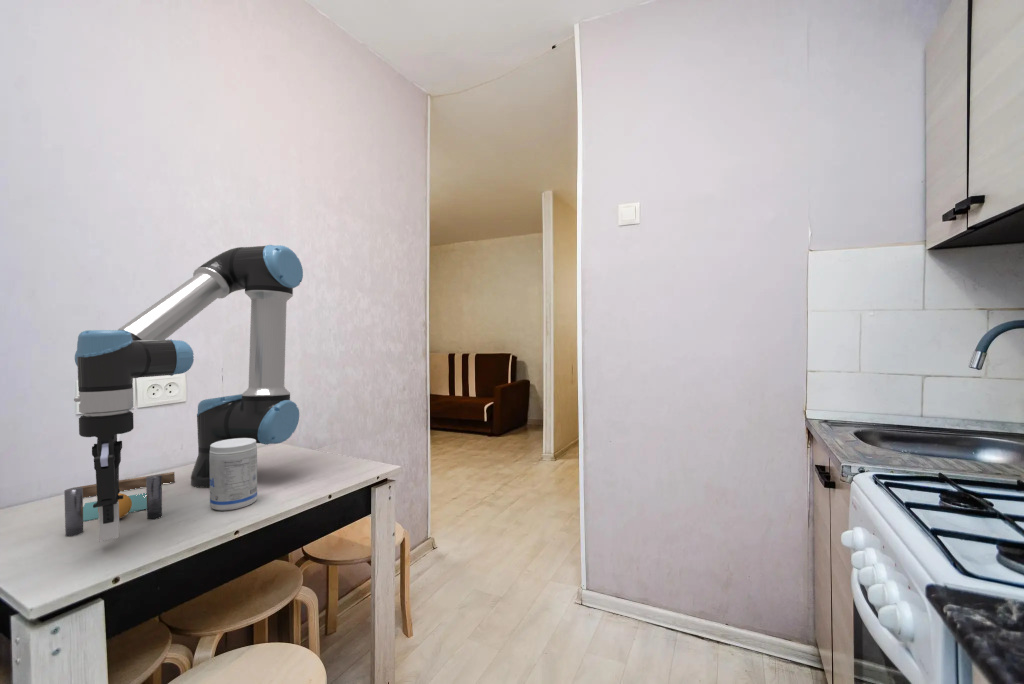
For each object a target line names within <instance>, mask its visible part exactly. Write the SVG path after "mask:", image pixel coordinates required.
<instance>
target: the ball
mask: <svg viewBox="0 0 1024 684" xmlns="http://www.w3.org/2000/svg"><path fill="white" fill-rule="evenodd" d="M118 495H123V499H119V500H118V501H119V520H120V519H122V518H124V517H125V516H126V515H128V514H129V513H128V512H129V511H130V509H131V507H132V501H131V499H130V497H129V496H130V495H127V494H125V493H122V492H119V494H118ZM98 513H99V507H98Z"/></svg>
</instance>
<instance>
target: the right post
mask: <svg viewBox="0 0 1024 684" xmlns="http://www.w3.org/2000/svg"><path fill="white" fill-rule="evenodd" d="M147 476H148V477H146V488H145V489H146V492H145V493H147V510H146V519H154V520H157V519H156V518H158V519H160V518H162V517H163V494H162V493H163V492H162V491H163V490H162V479H161V475H157V474H152V476H151V475H147ZM161 516H162V517H161ZM159 517H160V518H159Z"/></svg>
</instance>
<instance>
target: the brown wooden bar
mask: <svg viewBox="0 0 1024 684" xmlns="http://www.w3.org/2000/svg"><path fill="white" fill-rule="evenodd" d="M152 475H153V474H152ZM152 475H150V476H152ZM156 475H161V479H162V484H163V483H170V482H176V481H175V479H176V478H175V471H170V472H165V473H159V474H156ZM148 476H149V475H146V476H145V475H144V476H138V477H134V478H132V477H131V478H125V479H121V480H120V479H119V489H120V491H122V492H125V491H124V490H128V491H131V490H130V489H134V490H136V489H135V488H140V487H146V477H148ZM170 484H171V483H170ZM75 487H76V486H75ZM75 487H73V488H75ZM79 487H82V488H83V497H86V498H90V497H89V496H92V497H95V496H94V495H97V486H96V483H94V484H88V485H82V486H79ZM140 489H141V488H140Z"/></svg>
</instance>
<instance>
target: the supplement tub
mask: <svg viewBox="0 0 1024 684" xmlns="http://www.w3.org/2000/svg"><path fill="white" fill-rule="evenodd" d="M209 462H210V487H209V506H210V507H211V509H213V510H216V511H231V510H233V511H234V510H237V509H241V508H244V507H247V506H249V505H251V504H253V503H255V501H257V499H258V446H257V443H256V440H255V439H252V438H235V439H227V440H222V441H218V442H215V443H212V444H211V445H210V454H209Z"/></svg>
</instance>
